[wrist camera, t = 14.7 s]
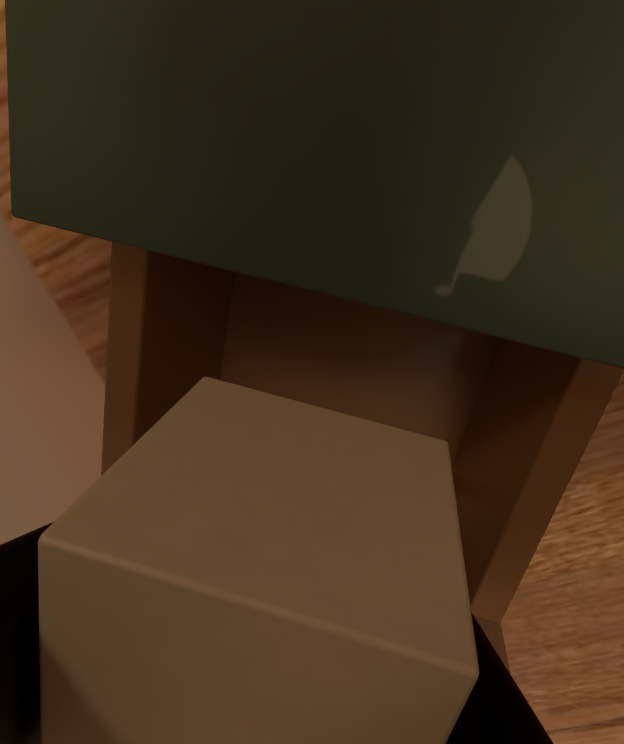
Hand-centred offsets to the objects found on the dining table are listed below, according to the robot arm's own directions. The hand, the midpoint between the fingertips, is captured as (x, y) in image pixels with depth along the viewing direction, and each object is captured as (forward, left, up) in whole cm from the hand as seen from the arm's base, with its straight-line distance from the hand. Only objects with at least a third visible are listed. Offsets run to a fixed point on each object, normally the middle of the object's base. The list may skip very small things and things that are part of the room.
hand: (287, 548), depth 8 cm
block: (0, 0, -1) cm, 1 cm away
